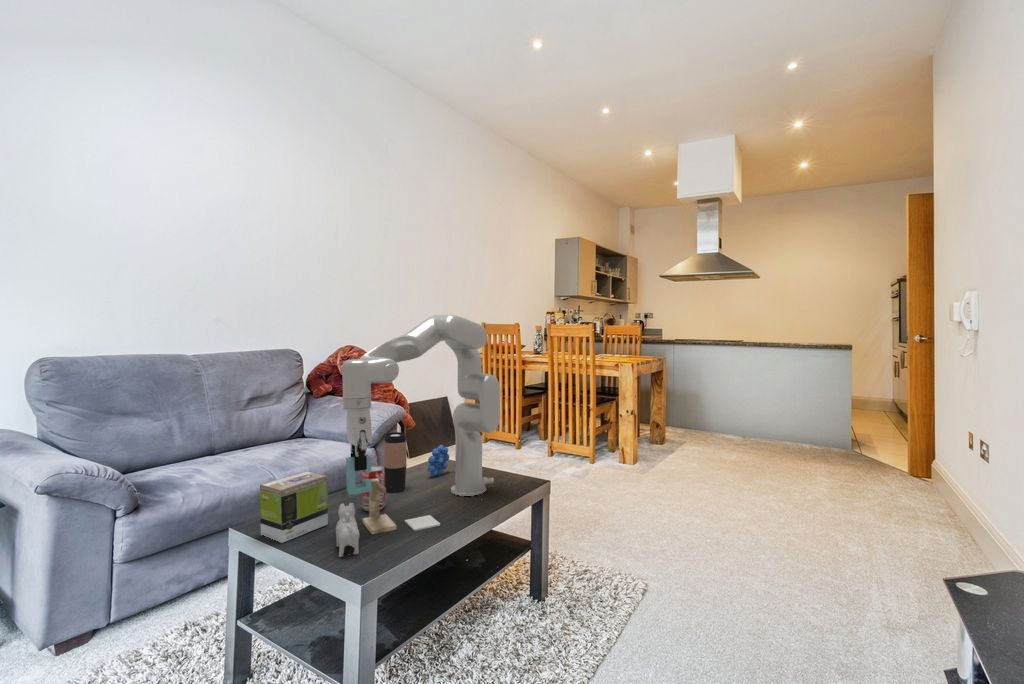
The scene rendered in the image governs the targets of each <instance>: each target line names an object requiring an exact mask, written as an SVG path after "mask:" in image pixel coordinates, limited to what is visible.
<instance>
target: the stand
mask: <svg viewBox="0 0 1024 684" xmlns="http://www.w3.org/2000/svg"><path fill="white" fill-rule="evenodd" d="M369 480H370V481H371V484H372V491H370V492H369V512H368V517H364V518H363V517H362V524H363V525H364V526H365V528H366V529H367V531H369V533H370V534H371V535H375V534H381V533H387V532H391V531H395V530H397V524H396V523H395V522H394V521H393V520H392V519H391V518H390V517H389V516H388V515H387V514H386V513H384V514H380V510H379V491H380V492H381V493H385V494H386V493H387V492H386V488H385V487H384V486H383V485H382V484H381V483H380V480H379V479H377V478H376V479H369Z"/></svg>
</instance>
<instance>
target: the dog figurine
mask: <svg viewBox="0 0 1024 684" xmlns="http://www.w3.org/2000/svg"><path fill="white" fill-rule="evenodd" d="M337 515H338V517H339V520H338V521H337V523H336V526H335V535H336V536H335V539H336V547H338V548H339V550H338V557H339V558H342V557H344V552H345V548H346V546H350V547H352V548H353V550H354V551H353V552H352V554H353V555H359V552H360V551H359V550H360V549H359V546H360V545H359V542H360V541H359V540H360V535H361V534H360V530H359V529H358V528H359V526H358V523H357V520H356V517H355V515H356V509H355V504H354V503H353V502H350V503H348V505H345V504H344V503H340V505H339V506H338V512H337Z"/></svg>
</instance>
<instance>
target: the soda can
mask: <svg viewBox="0 0 1024 684" xmlns="http://www.w3.org/2000/svg"><path fill="white" fill-rule="evenodd" d="M376 478H377V479H379V480H380V483H381V484H382V485H383V486H384V487H385V472H384V466H381V465H371V472H370V473H365V472H364V471H363V470H362V473H361V481H362V480H363V479H376ZM385 507H386V493H381V492H380V491H379V511H381V510H383V509H384V508H385ZM361 508H362V509H363V511H365V512H368V513H369V492H364V493H361Z"/></svg>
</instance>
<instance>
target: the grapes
mask: <svg viewBox="0 0 1024 684" xmlns="http://www.w3.org/2000/svg"><path fill="white" fill-rule="evenodd" d="M449 460H450V454H449V448H448V447H447V446H445V445H444V444H440V445H438V446H437V448H434V449H432V451H431V455H430V456H429V457H428V459H427V463H428V466H427V471H428V472H429V473H430V476H431V477H436V476H438V475H439V476H441V475H442V474H443V471H444V470H446V469H447V468H448V463H447V461H449Z"/></svg>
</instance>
